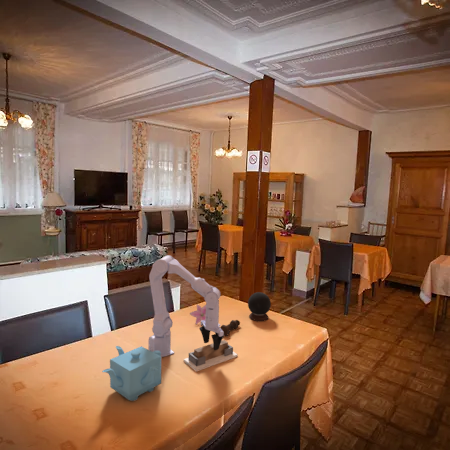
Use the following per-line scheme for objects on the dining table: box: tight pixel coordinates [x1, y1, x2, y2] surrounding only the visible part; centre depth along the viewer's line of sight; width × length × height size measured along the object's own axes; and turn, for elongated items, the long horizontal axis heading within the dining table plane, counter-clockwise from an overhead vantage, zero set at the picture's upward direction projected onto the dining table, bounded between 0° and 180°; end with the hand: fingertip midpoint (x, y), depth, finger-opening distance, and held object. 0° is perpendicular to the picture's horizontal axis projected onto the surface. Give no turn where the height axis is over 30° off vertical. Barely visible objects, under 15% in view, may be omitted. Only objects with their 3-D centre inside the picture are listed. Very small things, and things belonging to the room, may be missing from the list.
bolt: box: [219, 319, 241, 337], centre depth 181 cm, size 6×5×15 cm
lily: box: [189, 304, 206, 325], centre depth 191 cm, size 12×12×10 cm
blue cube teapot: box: [102, 345, 162, 402], centre depth 126 cm, size 19×19×15 cm
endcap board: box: [183, 343, 239, 372], centre depth 151 cm, size 22×10×4 cm, turn 127°
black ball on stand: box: [247, 291, 272, 322], centre depth 199 cm, size 13×13×15 cm
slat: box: [193, 339, 229, 361], centre depth 151 cm, size 16×3×5 cm, turn 127°
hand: (211, 345), depth 151 cm, fingers open, 7 cm apart
